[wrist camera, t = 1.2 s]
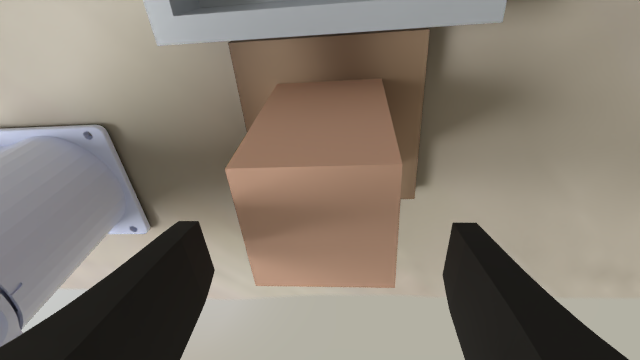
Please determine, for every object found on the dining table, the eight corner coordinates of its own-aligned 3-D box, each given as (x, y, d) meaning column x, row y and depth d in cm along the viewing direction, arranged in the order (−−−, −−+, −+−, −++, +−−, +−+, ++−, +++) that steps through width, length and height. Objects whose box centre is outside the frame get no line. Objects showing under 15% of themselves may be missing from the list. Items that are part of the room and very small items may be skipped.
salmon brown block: (290, 171, 19) (255, 285, 12) (277, 84, 16) (224, 168, 10) (379, 169, 19) (394, 287, 12) (381, 78, 16) (402, 164, 9)
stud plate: (265, 191, 21) (246, 239, 18) (234, 38, 16) (200, 61, 13) (411, 189, 20) (425, 239, 17) (425, 25, 15) (448, 46, 12)
